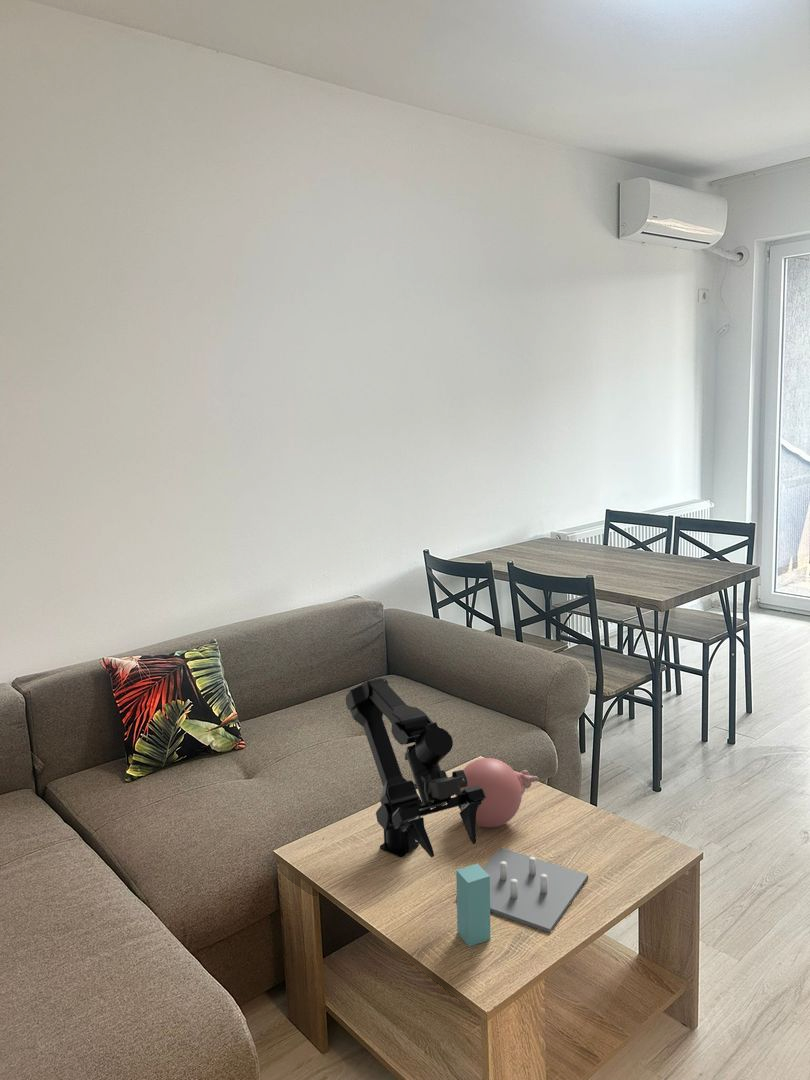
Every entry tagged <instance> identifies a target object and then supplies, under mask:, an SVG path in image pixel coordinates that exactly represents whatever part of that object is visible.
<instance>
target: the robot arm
mask: <svg viewBox="0 0 810 1080" xmlns="http://www.w3.org/2000/svg"><path fill="white" fill-rule="evenodd" d="M345 703H346V704H345V705H346V707H347V709H348V710H349V712H350V714H351V716H352V719H353V720H354V721H356V722H357V724H359V725H361V726H362V727H363V730H364V734H365V735H366V738H367V739H366V740H367V742H368V745H369V747H370V748H369V749H370V751H371V753H372V757H373V760H374V763H375V767H376V769H377V772H378V774H379V778H380V780H381V784H382V790H381V796H380V800H379V802H380V805H381V806H379V808H378V809H377V810H376V811H375V815H376V820H377V823H378V825H380V826H381V828H382V829H383V843H382V844H380V845H379V849H380V850H382V851H384V852H387V853H390V854H391V855H394V856H396V857H398V858H404V857H405V856H406V855H408V854H409V853H410V852H412V851H413V850H414V849H416V848H417V847H419V846H421V848H422V849H423V850H424V851H425V852H426V854H428V856H429V857H430V858H434V857H435V852H434V848H433V846H432V843H431V841H430V840H431V839H430V838H429V836H428V833H427V830H426V827H425V820H424V817H425V816H428V815H432V814H436V813H439V812H442V811H446V810H449V809H450V810H451V809H453V808H457V807H458V809H459V808H461V809H462V811H460V812H459V815H460V818H461V821H462V823H463V826H464V828H465V831H466V833H467V835H468V839H469V840H470V842H471V845H473V846H474V845H475V844H477V825H476V812H477V809H478V807H479V806H480V805H481V804H482V801H483V800H484V799H485V798H487V797H486V794H485V792H484V790H483V789H482V788H481V787H480V786H475V787H471V788H468V789H464V790H463V791H462V792H461V788H462V787H466V786H467V785H468V782H467V778H466V775H465V773H464V771H463V769H459V770H456V771H455V770H454V771H452V773H451V776H448V775H447V772H446V771H445V769H443V770H442V768H441V765H440V762H441V761H442V760H443V759H444V758H445V757H446V756H448V754H449V753H450V752H451V750H452V749H453V745H454V744H453V743H454V742H453V737H452V735H451V734H450V733H449V732H448V731H447V730H446V729H444V728H442V727H439V726H438V723H437V722H435V721H433V720H432V719H431V718H430V716H428V715H427V714H426V713H425V712H424V711H423V710H422V709H420V708H418V707H416V706H411V705H408V704H407V703H406V702H405V701H404V700H403V699H402V698H401V697H400V696H399V695H398V694H397V693H396V691H395V690H394V689H393V688H392V687H391V686H390V685H389V682H388V680H387V679H386V678H385V677H379V678H372V679H367V680H366V681H364V682H363V683H361V684H360V685H358V686H357V687H355V688H351V689H349V691H348V693H347V694H346V696H345ZM383 716H385V717H386V718H387V720H388V721H389V722H390V723H391V729H390V730H391V731H390V732H391V734H392V736H393V739H394V740H395V741H396V742H397V743H398V744H399V745H401V746H404V745H408V746H407V747H406V752H405V753H404V760H405V761H408V764H409V768H410V770H411V773H412V776H413V779H414V782H413V781H412V780H407V779H406V778H404V776H403V773H402V771H401V768H400V765H399V762H398V759H397V757H396V756H397V755H396V754H395V750H394V748H393V745H392V742H391V739H390V736H389V733H388V731H387V728H386V725H385V722H384V719H383ZM413 743H414V744H413ZM409 744H413V745H410V746H409ZM417 791H418V792H417ZM455 795H457V796H455Z"/></svg>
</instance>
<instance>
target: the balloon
mask: <svg viewBox="0 0 810 1080" xmlns="http://www.w3.org/2000/svg"><path fill="white" fill-rule="evenodd" d="M462 770H463V771H464V773H465V775H466V778H467V782H468V785H467V786H466V787H462V788H461V792H462V791H463V790H464V789H468V788H471V787H475V786H480V787H481V788H482V789H483V790H484V792H485V794H486V797H487V798H485V799H484V800H483V801H482V804H481V805H480V806H479V807H478V809H477V812H476V826H479V827H482V828H495V827H496V828H497V827H500V826H503V825H505V824H507V823H508V822H509V821H511V820H512V819H513V818H514V817H515V815H516V814H517V812H518V811H519V809H520V806H521V803H522V798H523V797H522V796H523V794H524V793H525V792H526V789H530V788H531V786H532V783H535V782H538V781H539V780H540V778H539V776H536V775H531V774H530V773H529V771H528V770H527V769H523V770H521V772H519V771H515V770H514V769H513V768H512V767H511V766H510V765H509V764H507V763H505V762H504V761H502V760H500V759H497V758H492V757H483V758H479V759H475V760H474V761H473V760H472V762H469V764H467V765H466V766H465V767H463V769H462ZM456 796H457V795H454V797H456ZM458 809H459V810H460V812H461V811H462V809H461V808H459V807H458Z"/></svg>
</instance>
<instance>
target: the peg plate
mask: <svg viewBox="0 0 810 1080" xmlns="http://www.w3.org/2000/svg"><path fill="white" fill-rule="evenodd" d="M481 868H482V869H483V870H484V871H485V872H486V873H487V874H488V875H489V876H490V913H493V914H495V915H499V916H502V917H504V918H507V919H509V920H512V921H516V922H518V923H521V924H524V925H527V926H529V927H533V928H535V929H538V930H541V931H544V932H546V933H550V934H551V933H552V931H553V930H554V929H555V927H556V925H557V924H558V923H559V921H560V920H561V918H562V917H563V915H564V914H565V912H566V911H567V909H568V908H569V907H570V905H571V904H570V903H572V902H573V901H574V899H575V898H576V897H577V895H578V893H579V892H580V891H581V889H582V888H581V887H583V886H584V885H585V883H586V882H587V880H588V879H589V873H584V872H582V871H579V870H575V869H572V868H569V867H565V866H562V865H559V864H555V863H553V862H548V861H545V860H542V859H539V858H537V857H535V856H529V855H526V854H523V853H519V852H517V851H513V850H510V849H506V848H503V847H500V848H499V849H498V850H497V851H496V852H495V853H494V855H492V856H491V858H489V860H488V861H487V862H486V863H485V864H484V865H483V866H482V867H481ZM583 884H584V885H583ZM455 899H456V901H457V895H456V897H455Z"/></svg>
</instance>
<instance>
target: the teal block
mask: <svg viewBox="0 0 810 1080" xmlns="http://www.w3.org/2000/svg"><path fill="white" fill-rule="evenodd" d="M482 868H483V867H482V866H481V865H480V864H479V863H476V864H475V863H474V864H471V865H468V866H465V867H461V868H458V869H455V870H456V871H455V873H456V877H455V878H456V896H457V900H456V917H457V918H456V920H457V921H456V923H457V925H456V926H457V928H456V929H457V934H458V935H459V936H460V937H461V939H462V940H463V941H464V943H465V944H466V945H467V946H468V948H470V947H473V946H476V945H478V944H482V943H484V942H488V941H490V940H491V912H490V876H489V875H488V874H487V873H486V872H485V871H484V870H483V869H482Z"/></svg>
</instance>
